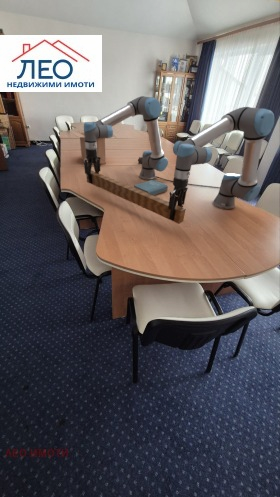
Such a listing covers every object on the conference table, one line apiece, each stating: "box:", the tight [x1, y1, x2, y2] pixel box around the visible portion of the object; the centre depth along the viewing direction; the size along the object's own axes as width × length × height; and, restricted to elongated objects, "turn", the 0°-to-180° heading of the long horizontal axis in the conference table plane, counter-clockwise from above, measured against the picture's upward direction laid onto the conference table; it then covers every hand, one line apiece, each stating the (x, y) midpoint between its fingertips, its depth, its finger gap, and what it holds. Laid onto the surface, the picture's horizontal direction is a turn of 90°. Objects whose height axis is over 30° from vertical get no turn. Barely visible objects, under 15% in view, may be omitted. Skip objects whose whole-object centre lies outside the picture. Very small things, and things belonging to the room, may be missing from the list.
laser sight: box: [137, 156, 143, 165], centre depth 237 cm, size 10×22×10 cm, turn 78°
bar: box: [85, 169, 187, 224], centre depth 142 cm, size 83×4×8 cm, turn 48°
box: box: [70, 130, 114, 166], centre depth 229 cm, size 44×36×27 cm
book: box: [133, 179, 169, 196], centre depth 177 cm, size 23×16×5 cm
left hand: (93, 182), depth 163 cm, fingers closed on bar, 4 cm apart
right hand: (174, 218), depth 125 cm, fingers closed on bar, 5 cm apart
